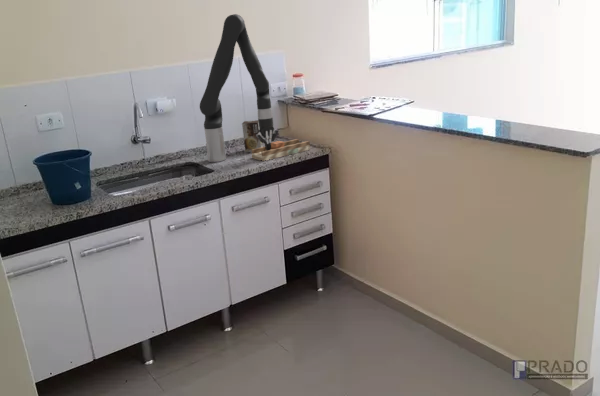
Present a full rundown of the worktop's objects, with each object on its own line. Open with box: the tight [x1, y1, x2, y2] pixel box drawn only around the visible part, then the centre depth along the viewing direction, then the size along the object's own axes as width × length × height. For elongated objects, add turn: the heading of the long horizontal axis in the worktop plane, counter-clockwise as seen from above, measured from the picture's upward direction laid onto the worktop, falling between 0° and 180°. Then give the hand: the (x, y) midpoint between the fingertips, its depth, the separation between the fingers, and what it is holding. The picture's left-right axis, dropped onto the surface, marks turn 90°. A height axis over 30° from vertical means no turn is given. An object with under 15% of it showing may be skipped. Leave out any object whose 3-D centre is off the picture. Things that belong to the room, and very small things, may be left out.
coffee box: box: [241, 119, 264, 153], centre depth 302 cm, size 9×6×16 cm
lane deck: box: [251, 138, 311, 162], centre depth 291 cm, size 30×11×4 cm, turn 127°
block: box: [271, 140, 285, 149], centre depth 289 cm, size 5×5×4 cm
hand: (268, 150), depth 286 cm, fingers closed
